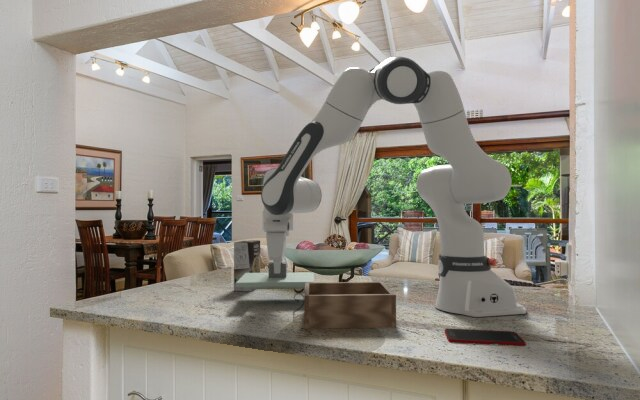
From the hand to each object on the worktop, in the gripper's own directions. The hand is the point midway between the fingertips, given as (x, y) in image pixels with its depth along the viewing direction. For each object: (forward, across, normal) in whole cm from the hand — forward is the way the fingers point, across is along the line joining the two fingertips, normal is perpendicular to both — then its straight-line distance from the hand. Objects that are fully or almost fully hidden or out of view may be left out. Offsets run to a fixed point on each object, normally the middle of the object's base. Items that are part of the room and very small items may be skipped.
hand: (277, 272), depth 119 cm
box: (+9, +22, +18) cm, 29 cm away
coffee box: (+9, -20, -12) cm, 25 cm away
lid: (+3, 0, 0) cm, 3 cm away
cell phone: (+9, +35, +45) cm, 58 cm away
